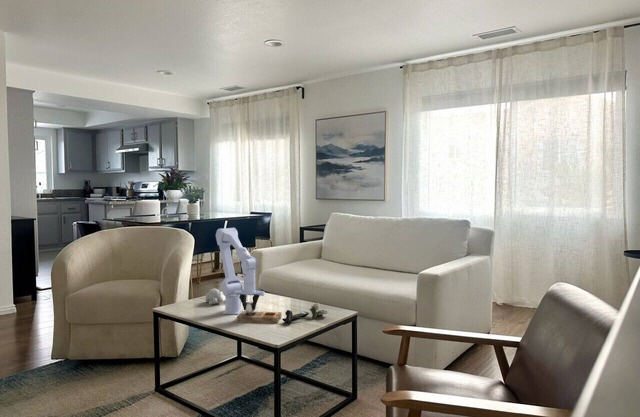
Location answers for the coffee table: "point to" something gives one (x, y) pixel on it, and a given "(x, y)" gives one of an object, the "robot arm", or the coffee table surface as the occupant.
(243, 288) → the ink cartridge box
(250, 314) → the steel peg
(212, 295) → the round bodied animal figurine
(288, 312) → the artificial flower
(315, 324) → the coffee table surface
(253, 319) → the wooden board with recesses
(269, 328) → the coffee table surface
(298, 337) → the coffee table surface
